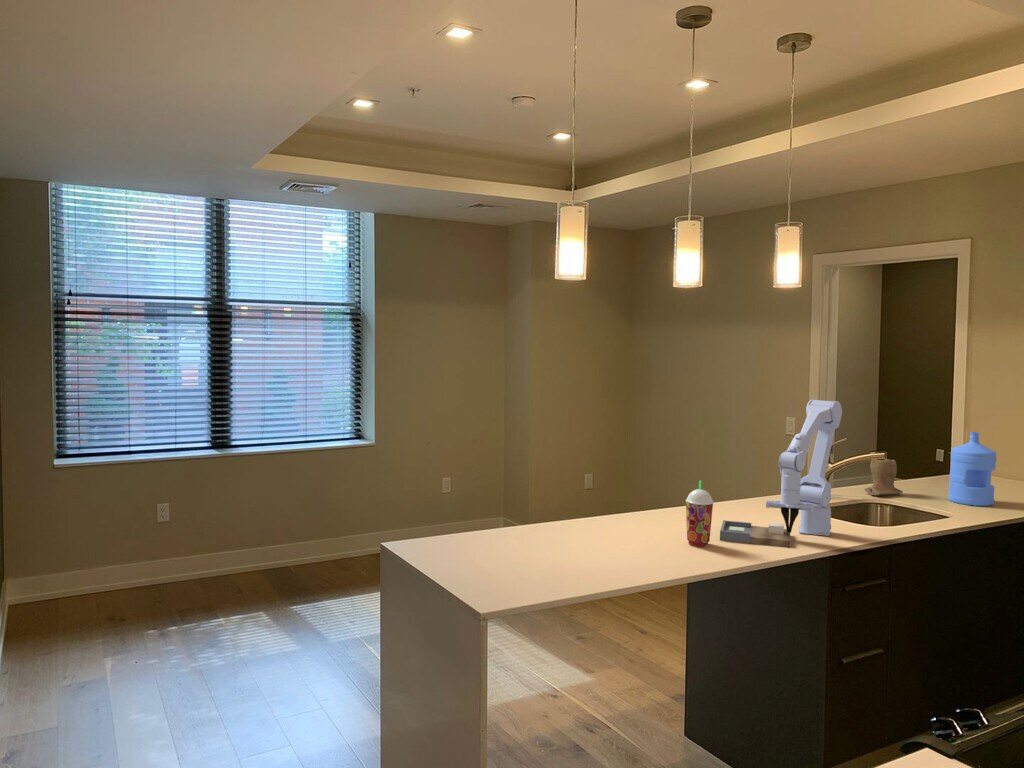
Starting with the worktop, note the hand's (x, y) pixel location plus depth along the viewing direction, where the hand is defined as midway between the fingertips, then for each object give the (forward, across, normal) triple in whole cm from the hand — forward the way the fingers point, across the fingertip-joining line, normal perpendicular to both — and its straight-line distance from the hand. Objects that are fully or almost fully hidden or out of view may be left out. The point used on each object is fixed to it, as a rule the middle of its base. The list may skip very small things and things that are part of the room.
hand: (788, 531), depth 247 cm
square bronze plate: (+3, -6, -2) cm, 6 cm away
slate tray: (+3, -16, -2) cm, 16 cm away
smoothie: (+3, -27, -17) cm, 32 cm away
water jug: (+3, +70, +88) cm, 112 cm away
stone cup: (+3, +38, +91) cm, 99 cm away
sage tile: (+1, -16, -5) cm, 17 cm away
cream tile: (+1, -4, 0) cm, 4 cm away
